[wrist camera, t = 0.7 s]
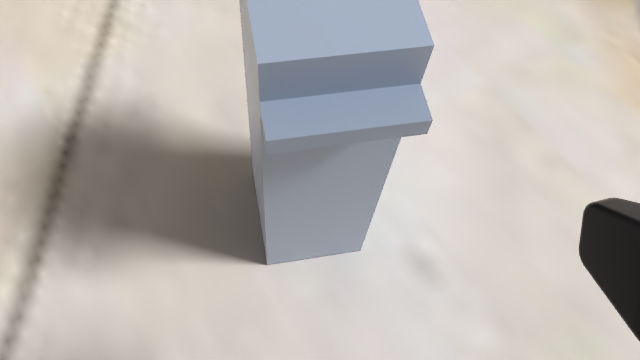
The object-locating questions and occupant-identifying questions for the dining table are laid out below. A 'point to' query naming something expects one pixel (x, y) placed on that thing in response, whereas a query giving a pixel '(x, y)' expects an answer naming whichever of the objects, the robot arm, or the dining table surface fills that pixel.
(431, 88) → the dining table surface
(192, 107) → the dining table surface
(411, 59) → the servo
